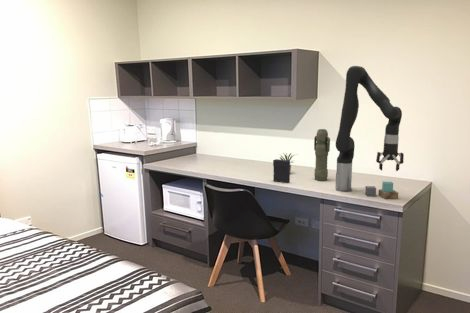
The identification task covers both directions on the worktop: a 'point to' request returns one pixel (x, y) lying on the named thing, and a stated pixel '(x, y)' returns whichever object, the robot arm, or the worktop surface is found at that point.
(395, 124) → the robot arm
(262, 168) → the worktop surface
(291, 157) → the house plant
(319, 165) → the olive green figurine
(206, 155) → the worktop surface
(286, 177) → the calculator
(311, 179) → the worktop surface
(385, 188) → the teal cube
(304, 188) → the worktop surface
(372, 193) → the charcoal cube
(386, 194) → the brown square block
